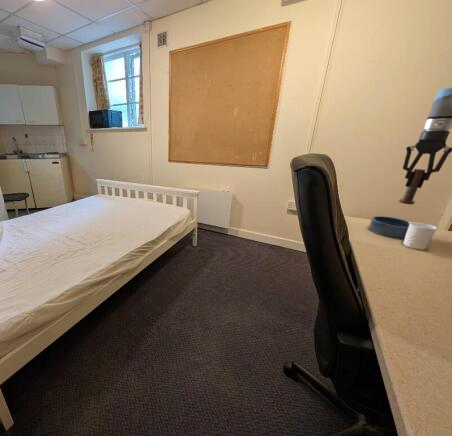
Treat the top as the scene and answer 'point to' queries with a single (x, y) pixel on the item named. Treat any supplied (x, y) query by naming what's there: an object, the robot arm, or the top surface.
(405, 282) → the top surface
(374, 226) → the bowl
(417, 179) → the wooden masher
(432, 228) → the white cup
